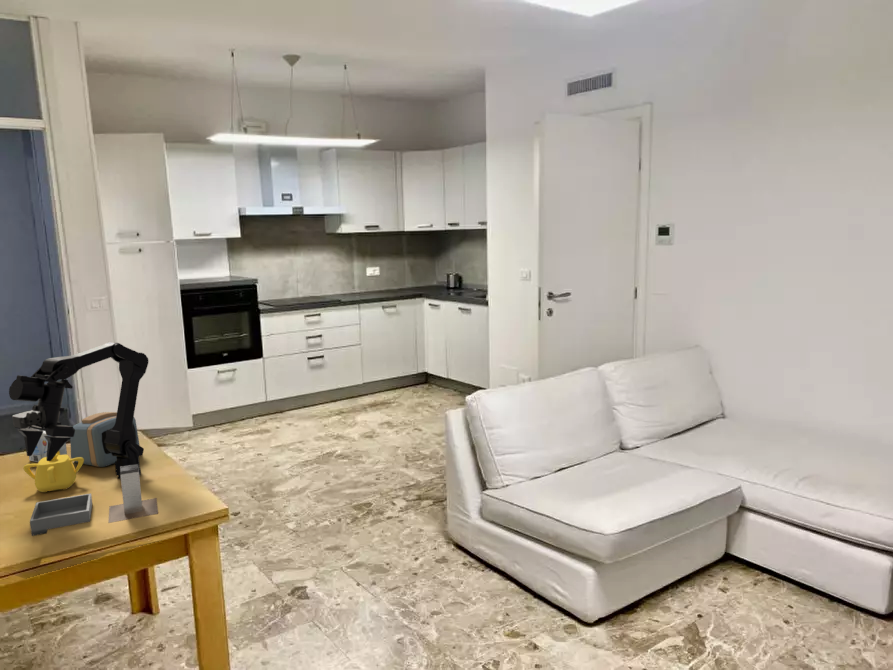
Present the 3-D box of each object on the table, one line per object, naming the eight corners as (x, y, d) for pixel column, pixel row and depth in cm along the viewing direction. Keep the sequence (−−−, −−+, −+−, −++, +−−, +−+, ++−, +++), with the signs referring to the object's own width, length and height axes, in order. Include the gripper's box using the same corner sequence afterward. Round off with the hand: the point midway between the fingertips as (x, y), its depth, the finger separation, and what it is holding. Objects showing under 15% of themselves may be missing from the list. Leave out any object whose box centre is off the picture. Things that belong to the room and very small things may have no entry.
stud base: (156, 501, 187) (155, 487, 186) (158, 517, 176) (157, 502, 175) (109, 509, 182) (108, 496, 181) (108, 526, 171) (107, 512, 170)
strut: (142, 505, 182) (138, 464, 180) (142, 511, 178) (138, 469, 176) (124, 508, 180) (120, 466, 178) (124, 514, 176) (120, 471, 174)
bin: (92, 506, 184) (91, 493, 183) (90, 525, 172) (88, 510, 171) (38, 516, 178) (36, 502, 178) (31, 535, 166) (29, 521, 166)
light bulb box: (28, 461, 224) (24, 430, 222) (47, 454, 230) (43, 425, 228) (50, 464, 220) (46, 433, 218) (68, 458, 226) (65, 428, 224)
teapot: (20, 491, 197) (16, 458, 195) (61, 476, 209) (57, 445, 207) (50, 497, 191) (46, 464, 190) (90, 482, 203) (86, 450, 201)
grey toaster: (101, 469, 214) (96, 422, 211) (68, 463, 221) (63, 417, 218) (143, 454, 228) (139, 410, 226) (111, 448, 235) (107, 405, 233)
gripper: (1, 396, 182) (-11, 453, 180) (41, 404, 173) (29, 464, 171) (41, 399, 191) (30, 453, 190) (80, 407, 183) (69, 463, 181)
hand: (38, 458), depth 183 cm, fingers open, 9 cm apart
